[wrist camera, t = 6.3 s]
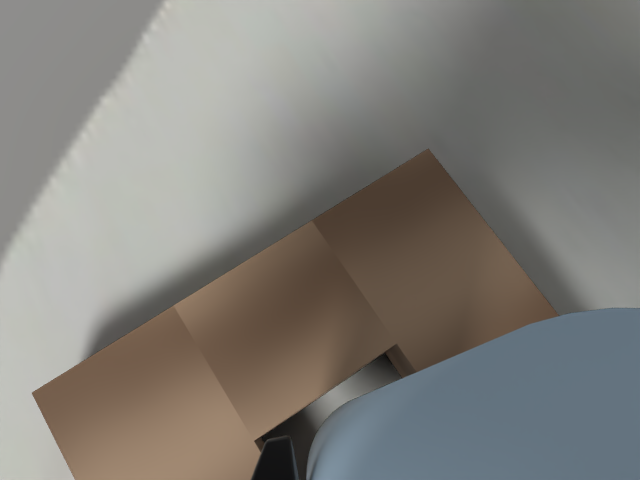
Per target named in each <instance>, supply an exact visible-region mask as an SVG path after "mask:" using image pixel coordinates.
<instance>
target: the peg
mask: <svg viewBox="0 0 640 480" xmlns="http://www.w3.org/2000/svg"><path fill="white" fill-rule="evenodd" d="M306 480H640V308H607V309H599V310H591V311H583V312H575V313H569V314H565V315H561V316H558V317H554V318H550V319H547V320H543V321H539V322H535V323H532V324H529V325H526V326H524V327H522V328H519V329H517V330H515V331H512V332H510V333H508V334H505V335H503V336H501V337H498V338H496V339H493V340H491V341H489V342H486V343H484V344H482V345H479V346H477V347H475V348H472V349H470V350H468V351H465V352H463V353H461V354H458V355H456V356H454V357H451V358H449V359H447V360H444V361H442V362H440V363H437V364H435V365H433V366H430V367H428V368H426V369H423V370H421V371H419V372H416V373H414V374H412V375H409V376H407V377H405V378H402V379H400V380H398V381H395V382H393V383H391V384H388V385H386V386H384V387H381V388H379V389H376V390H374V391H372V392H369V393H367V394H365V395H362V396H360V397H358V398H355V399H353V400H351V401H348V402H347V403H345V404H343V405H342V406H340V407H339V408H338V409H336V410H335V411H334V412H333V413H332V414H331V415H330V416H329V417H328V418H327V419H326V420H325V421H324V423H323V424H322V425H321V427H320V428H319V430H318V432H317V433H316V435H315V437H314V440H313V442H312V445H311V448H310V452H309V455H308V462H307V479H306Z"/></svg>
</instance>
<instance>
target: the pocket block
mask: <svg viewBox="0 0 640 480" xmlns="http://www.w3.org/2000/svg"><path fill="white" fill-rule="evenodd" d="M558 316H559V315H558V314H557V313H556V311H555V310H554V309H553V307H552V306H551V305H550V304H549V302H548V301H547V300H546V298H545V297H544V296H543V295H542V293H541V292H540V291H539V289H538V288H537V287H536V286H535V284H534V283H533V282H532V281H531V279H530V278H529V277H528V275H527V274H526V273H525V272H524V270H523V269H522V268H521V266H520V265H519V264H518V263H517V261H516V260H515V259H514V257H513V256H512V255H511V254H510V252H509V251H508V250H507V249H506V247H505V246H504V245H503V243H502V242H501V241H500V240H499V238H498V237H497V236H496V234H495V233H494V232H493V231H492V229H491V228H490V227H489V225H488V224H487V223H486V222H485V220H484V219H483V218H482V217H481V215H480V214H479V213H478V211H477V210H476V209H475V208H474V206H473V205H472V204H471V202H470V201H469V200H468V199H467V197H466V196H465V195H464V193H463V192H462V191H461V190H460V188H459V187H458V186H457V185H456V183H455V182H454V181H453V179H452V178H451V177H450V176H449V174H448V173H447V172H446V170H445V169H444V168H443V167H442V165H441V164H440V163H439V161H438V160H437V159H436V158H435V156H434V155H433V154H432V153H431V151H430V150H429V149H427V150H425V151H424V152H422V153H420V154H419V155H417V156H415V157H414V158H412V159H411V160H409V161H407V162H406V163H404V164H402V165H401V166H399V167H398V168H396V169H394V170H393V171H391V172H389V173H388V174H386V175H385V176H383V177H381V178H380V179H378V180H376V181H375V182H373V183H372V184H370V185H368V186H367V187H365V188H363V189H362V190H360V191H359V192H357V193H355V194H354V195H352V196H350V197H349V198H347V199H346V200H344V201H342V202H341V203H339V204H337V205H336V206H334V207H333V208H331V209H329V210H328V211H326V212H324V213H323V214H321V215H320V216H318V217H316V218H315V219H313V220H312V221H310V222H308V223H307V224H305V225H303V226H302V227H300V228H299V229H297V230H295V231H294V232H292V233H290V234H289V235H287V236H286V237H284V238H282V239H281V240H279V241H277V242H276V243H274V244H273V245H271V246H269V247H268V248H266V249H264V250H263V251H261V252H260V253H258V254H256V255H255V256H253V257H251V258H250V259H248V260H247V261H245V262H243V263H242V264H240V265H238V266H237V267H235V268H234V269H232V270H230V271H229V272H227V273H225V274H224V275H222V276H221V277H219V278H217V279H216V280H214V281H212V282H211V283H209V284H208V285H206V286H204V287H203V288H201V289H199V290H198V291H196V292H195V293H193V294H191V295H190V296H188V297H186V298H185V299H183V300H182V301H180V302H178V303H177V304H175V305H173V306H172V307H170V308H169V309H167V310H165V311H164V312H162V313H160V314H159V315H157V316H156V317H154V318H152V319H151V320H149V321H147V322H146V323H144V324H143V325H141V326H139V327H138V328H136V329H134V330H133V331H131V332H130V333H128V334H126V335H125V336H123V337H121V338H120V339H118V340H117V341H115V342H113V343H112V344H110V345H109V346H107V347H105V348H104V349H102V350H100V351H99V352H97V353H96V354H94V355H92V356H91V357H89V358H87V359H86V360H84V361H83V362H81V363H79V364H78V365H76V366H74V367H73V368H71V369H70V370H68V371H66V372H65V373H63V374H61V375H60V376H58V377H57V378H55V379H53V380H52V381H50V382H48V383H47V384H45V385H44V386H42V387H40V388H39V389H37V390H35V391H34V392H32V395H33V397H34V399H35V401H36V403H37V405H38V407H39V409H40V411H41V413H42V415H43V417H44V419H45V421H46V423H47V425H48V427H49V429H50V431H51V433H52V435H53V437H54V439H55V441H56V443H57V445H58V447H59V449H60V451H61V453H62V455H63V457H64V459H65V461H66V463H67V465H68V467H69V469H70V471H71V473H72V475H73V477H74V479H75V480H251V477H252V475H253V472H254V469H255V467H256V464H257V462H258V459H259V456H260V454H261V451H262V449H263V446H264V444H265V443H264V441H263V440H262V438H261V437H263V436H264V435H266V434H267V433H269V432H270V431H272V430H273V429H275V428H276V427H277V426H279V425H280V424H282V423H283V422H285V421H286V420H288V419H289V418H291V417H292V416H293V415H295V414H296V413H298V412H299V411H301V410H302V409H304V408H305V407H307V406H308V405H310V404H311V403H312V402H314V401H315V400H317V399H318V398H320V397H321V396H323V395H324V394H326V393H327V392H329V391H330V390H331V389H333V388H334V387H336V386H337V385H339V384H340V383H342V382H343V381H345V380H346V379H348V378H349V377H350V376H352V375H353V374H355V373H356V372H358V371H359V370H361V369H362V368H364V367H365V366H367V365H368V364H369V363H371V362H372V361H374V360H375V359H377V358H378V357H380V356H381V355H383V354H384V353H386V355H387V356H388V358H389V359H390V361H391V362H392V364H393V365H394V367H395V368H396V370H397V371H398V372H399V374H400V375H401V377H402V378H405V377H407V376H409V375H412V374H414V373H416V372H419V371H421V370H423V369H426V368H428V367H430V366H433V365H435V364H437V363H440V362H442V361H444V360H447V359H449V358H451V357H454V356H456V355H458V354H461V353H463V352H465V351H468V350H470V349H472V348H475V347H477V346H479V345H482V344H484V343H486V342H489V341H491V340H493V339H496V338H498V337H501V336H503V335H505V334H508V333H510V332H512V331H515V330H517V329H519V328H522V327H524V326H526V325H529V324H532V323H535V322H539V321H543V320H547V319H550V318H554V317H558Z"/></svg>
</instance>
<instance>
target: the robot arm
mask: <svg viewBox="0 0 640 480" xmlns="http://www.w3.org/2000/svg"><path fill="white" fill-rule="evenodd" d="M251 480H299V476H298V470H297V465H296V460H295V455H294V450H293V444H292V440H291V437H290V436H288V435H286V436H280V437H275V438H270V439H268V440H267V441H266V442H265V444H264V446H263V449H262V451H261V454H260V456H259V459H258V462H257V464H256V467H255V469H254V472H253V475H252V477H251Z"/></svg>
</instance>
